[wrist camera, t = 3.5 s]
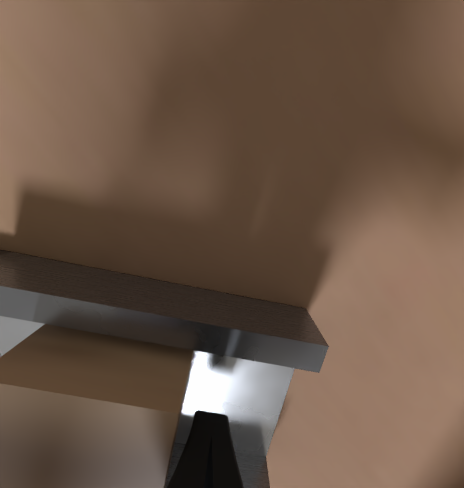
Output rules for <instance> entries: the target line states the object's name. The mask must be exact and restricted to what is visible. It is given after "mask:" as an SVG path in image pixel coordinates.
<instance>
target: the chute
mask: <svg viewBox="0 0 464 488" xmlns="http://www.w3.org/2000/svg"><path fill="white" fill-rule="evenodd" d="M44 324H48V325H54V326H60V327H65V328H71V329H76V330H82V331H88V332H93V333H99V334H105V335H110V336H116V337H121V338H127V339H133V340H138V341H144V342H150V343H155V344H161V345H166V346H172V347H178V348H183V349H189V350H194V352H193V357H192V362H191V366H190V371H189V376H188V381H187V386H186V391H185V396H184V400H183V405H182V410H181V415H180V420H179V425H178V430H177V434H176V439H175V443H174V448H173V452H172V457H171V461H170V466H169V470H168V475H167V479H166V484H165V488H167V486H168V484H169V482H170V480H171V478H172V475H173V473H174V471H175V469H176V467H177V464H178V462H179V459H180V457H181V455H182V452H183V450H184V447H185V445H186V442H187V439H188V436H189V433H190V430H191V427H192V423H193V419H194V414H195V412H196V411H197V410H201V411H207V412H213V413H219V414H225V415H227V416H228V419H229V426H230V432H231V437H232V442H233V447H234V451H235V456H236V460H237V464H238V467H239V471H240V475H241V478H242V482H243V486H244V488H270V485H269V477H268V469H267V461H266V455H267V452H268V449H269V445H270V442H271V439H272V436H273V433H274V430H275V427H276V424H277V421H278V418H279V415H280V412H281V409H282V406H283V402H284V399H285V396H286V393H287V390H288V387H289V384H290V381H291V378H292V375H293V372H294V369H295V368H296V369H301V370H307V371H313V372H318V373H319V372H320V369H321V366H322V364H323V361H324V358H325V355H326V352H327V350H328V347H329V346H328V345H327V343H326V341H325V340H324V338H323V336H322V335H321V333H320V331H319V330H318V328H317V326H316V325H315V323H314V321H313V320H312V318H311V316H310V315H309V313H308V311H307V310H306V309H305V308H300V307H295V306H290V305H284V304H279V303H274V302H269V301H264V300H258V299H253V298H248V297H243V296H238V295H232V294H227V293H222V292H217V291H212V290H206V289H201V288H196V287H191V286H186V285H180V284H175V283H170V282H165V281H160V280H154V279H149V278H144V277H139V276H134V275H128V274H123V273H118V272H113V271H108V270H103V269H97V268H92V267H87V266H82V265H77V264H71V263H66V262H61V261H56V260H51V259H45V258H40V257H35V256H30V255H25V254H19V253H14V252H9V251H4V250H0V357H1V356H3V355H4V354H5V353H7V352H8V351H9V350H11V349H12V348H13V347H15V346H16V345H17V344H19V343H20V342H21V341H23V340H24V339H25V338H27V337H28V336H29V335H31V334H32V333H33V332H35V331H36V330H38V329H39V328H40V327H42V326H43V325H44Z"/></svg>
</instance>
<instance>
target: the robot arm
mask: <svg viewBox="0 0 464 488" xmlns="http://www.w3.org/2000/svg"><path fill="white" fill-rule="evenodd" d="M167 488H244V486H243V482H242V478H241V475H240V471H239V467H238V464H237V460H236V456H235V451H234V447H233V442H232V437H231V432H230V426H229V419H228V416H227V415H225V414H219V413H213V412H207V411H201V410H197V411H196V412H195V414H194V419H193V423H192V427H191V430H190V433H189V436H188V439H187V442H186V445H185V447H184V450H183V452H182V455H181V457H180V459H179V462H178V464H177V467H176V469H175V471H174V473H173V475H172V478H171V480H170V482H169V484H168V486H167Z"/></svg>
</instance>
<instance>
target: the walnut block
mask: <svg viewBox="0 0 464 488" xmlns="http://www.w3.org/2000/svg"><path fill="white" fill-rule="evenodd" d="M193 352H194V350H189V349H183V348H178V347H172V346H166V345H161V344H155V343H150V342H144V341H138V340H133V339H127V338H121V337H116V336H110V335H105V334H99V333H93V332H88V331H82V330H76V329H71V328H65V327H60V326H54V325H48V324H44V325H43V326H42V327H40V328H39V329H38V330H36V331H35V332H33V333H32V334H31V335H29V336H28V337H27V338H25V339H24V340H23V341H21V342H20V343H19V344H17V345H16V346H15V347H13V348H12V349H11V350H9V351H8V352H7V353H5V354H4V355H3V356H1V357H0V488H165V484H166V479H167V475H168V470H169V466H170V461H171V457H172V452H173V448H174V443H175V439H176V434H177V430H178V425H179V420H180V415H181V410H182V405H183V400H184V396H185V391H186V386H187V381H188V376H189V371H190V366H191V362H192V357H193Z"/></svg>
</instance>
